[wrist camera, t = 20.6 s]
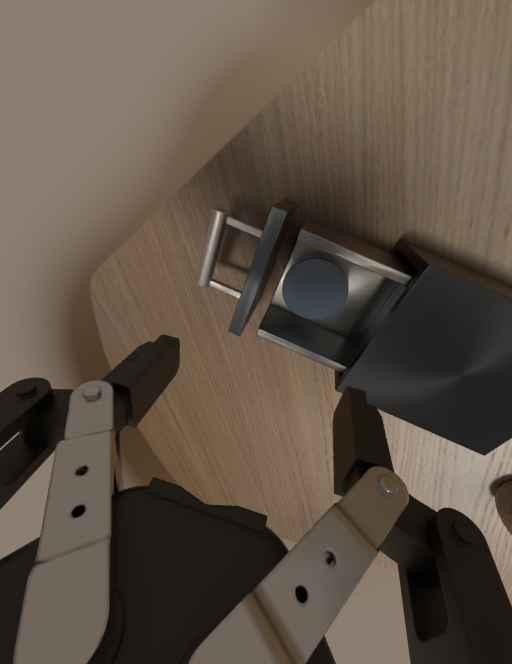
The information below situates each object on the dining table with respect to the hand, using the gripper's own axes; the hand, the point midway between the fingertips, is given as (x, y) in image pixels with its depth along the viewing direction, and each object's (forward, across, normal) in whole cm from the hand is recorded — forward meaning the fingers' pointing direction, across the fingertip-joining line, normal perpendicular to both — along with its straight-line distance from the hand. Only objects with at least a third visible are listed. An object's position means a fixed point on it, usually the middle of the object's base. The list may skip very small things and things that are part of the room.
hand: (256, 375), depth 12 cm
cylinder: (+16, -2, +1) cm, 17 cm away
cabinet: (+18, -15, +3) cm, 24 cm away
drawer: (+18, -1, 0) cm, 18 cm away
